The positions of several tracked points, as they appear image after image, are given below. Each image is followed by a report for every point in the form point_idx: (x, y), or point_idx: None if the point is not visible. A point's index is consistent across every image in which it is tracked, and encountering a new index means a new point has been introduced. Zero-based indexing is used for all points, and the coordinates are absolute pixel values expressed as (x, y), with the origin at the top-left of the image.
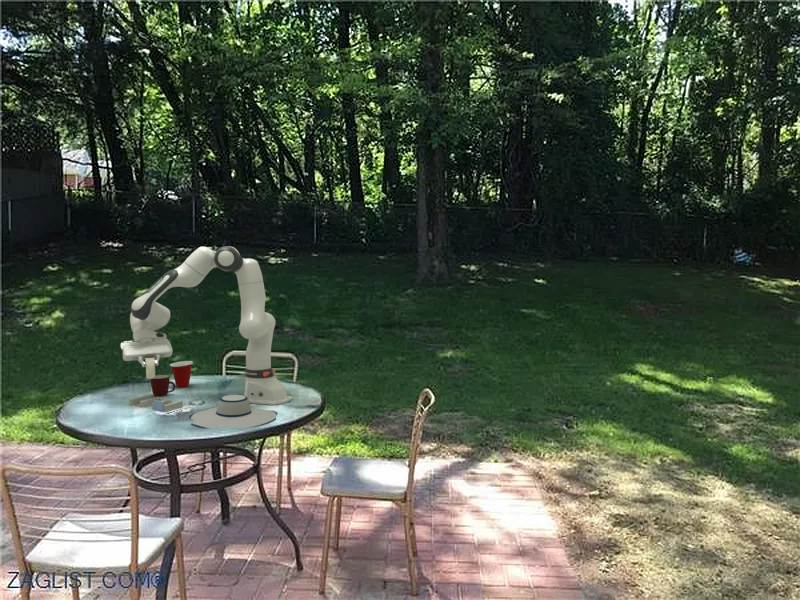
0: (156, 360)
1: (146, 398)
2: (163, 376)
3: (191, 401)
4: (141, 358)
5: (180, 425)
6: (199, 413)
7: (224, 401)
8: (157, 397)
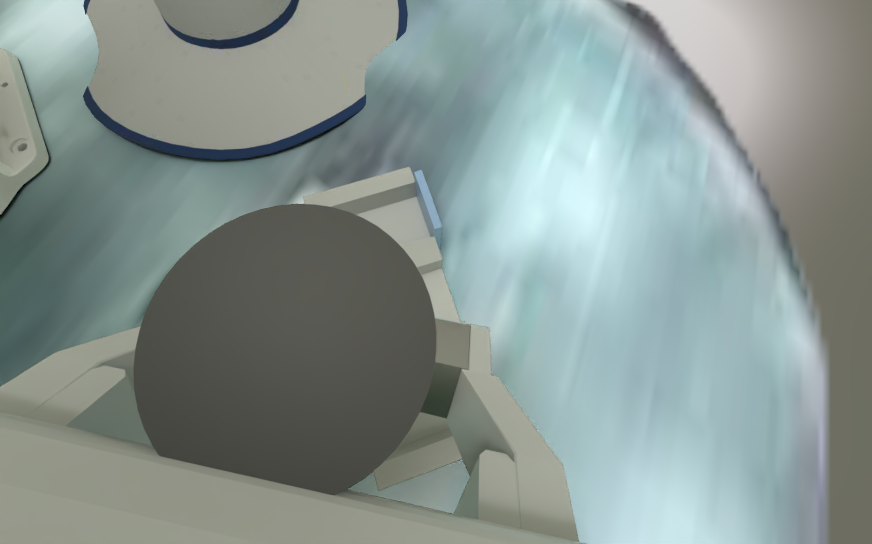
0: None
1: (391, 454)
2: None
3: None
4: (495, 455)
5: (437, 42)
6: (314, 98)
7: None
8: None
